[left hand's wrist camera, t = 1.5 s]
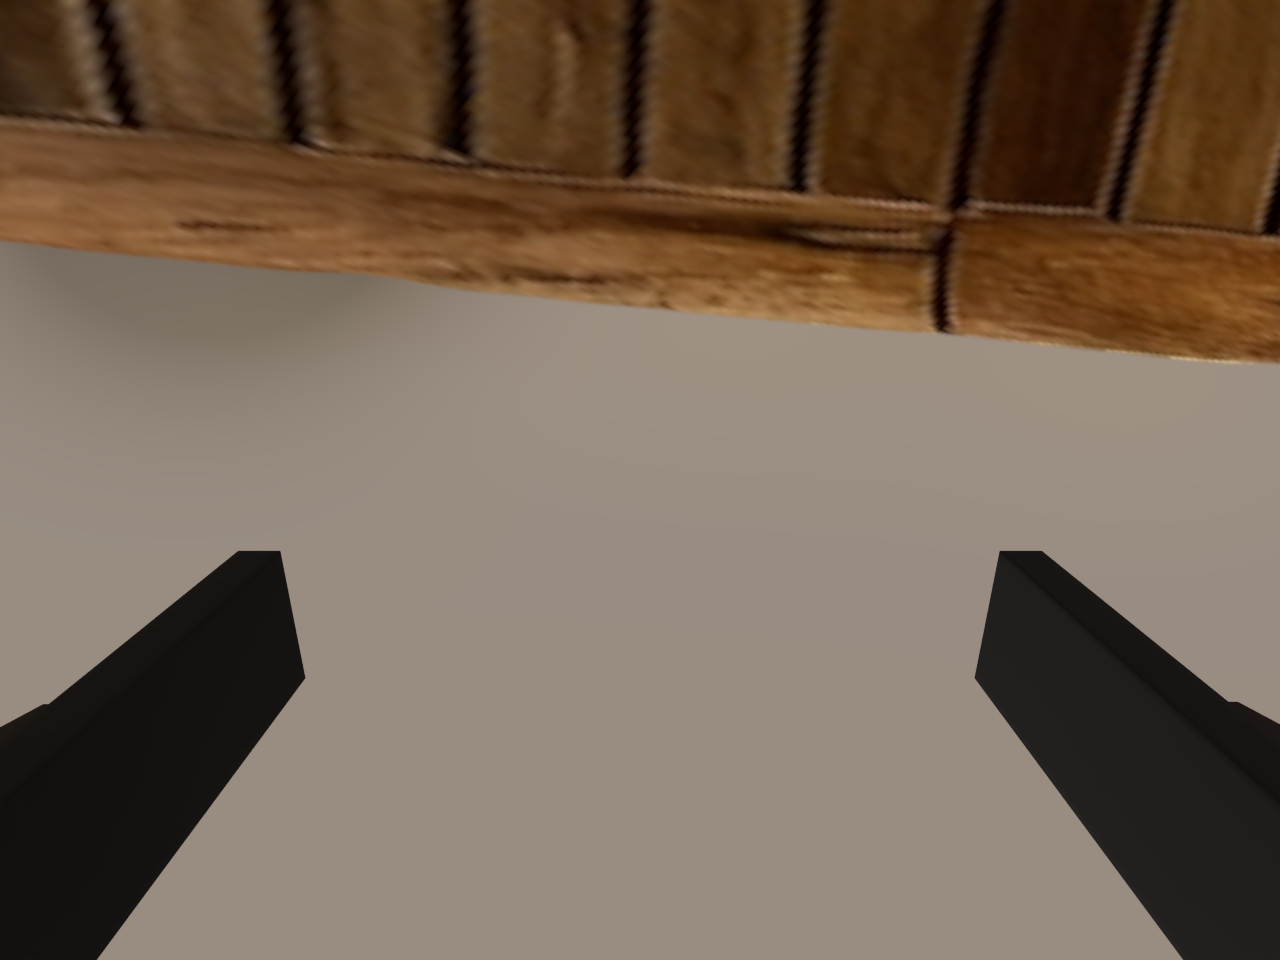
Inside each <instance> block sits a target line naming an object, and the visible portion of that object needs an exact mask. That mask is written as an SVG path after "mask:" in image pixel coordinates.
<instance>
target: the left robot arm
mask: <svg viewBox="0 0 1280 960" xmlns="http://www.w3.org/2000/svg"><path fill="white" fill-rule="evenodd" d="M304 679H305V674H304V669H303V664H302V659H301V654H300V649H299V644H298V638H297V634H296V628H295V623H294V618H293V613H292V608H291V603H290V598H289V593H288V588H287V583H286V578H285V573H284V567H283V562H282V557H281V552H280V551H238V552H236V553H235V554H234V555H233V556H231V557H230V558H229V559H228V560H227V561H225V562H224V563H223V564H222V565H220V566H219V567H218V568H217V569H215V570H214V571H213V572H212V573H210V574H209V575H208V576H207V577H205V578H204V579H203V580H202V581H201V582H199V583H198V584H197V585H196V586H194V587H193V588H192V589H191V590H189V591H188V592H187V593H186V594H185V595H183V596H182V597H181V598H179V599H178V600H177V601H176V602H175V603H173V604H172V605H171V606H170V607H168V608H167V609H166V610H165V611H163V612H162V613H161V614H160V615H158V616H157V617H156V618H155V619H154V620H152V621H151V622H150V623H149V624H147V625H146V626H145V627H144V628H142V629H141V630H140V631H139V632H137V633H136V634H135V635H134V636H132V637H131V638H130V639H129V640H128V641H126V642H125V643H124V644H123V645H121V646H120V647H119V648H118V649H116V650H115V651H114V652H113V653H111V654H110V655H109V656H108V657H107V658H105V659H104V660H103V661H102V662H100V663H99V664H98V665H97V666H95V667H94V668H93V669H92V670H90V671H89V672H88V673H87V674H86V675H84V676H83V677H82V678H81V679H79V680H78V681H77V682H76V683H74V684H73V685H72V686H71V687H69V688H68V689H67V690H66V691H65V692H63V693H62V694H61V695H60V696H58V697H57V698H56V699H55V700H53V701H52V702H51V703H50V704H43V705H41V706H39V707H37V708H35V709H34V710H32V711H30V712H28V713H26V714H24V715H22V716H20V717H19V718H17V719H15V720H13V721H11V722H9V723H7V724H6V725H4V726H2V727H0V960H97V959H98V957H99V956H100V955H101V953H102V952H103V951H104V949H105V948H106V947H107V945H108V944H109V942H110V941H111V940H112V938H113V937H114V936H115V934H116V933H117V932H118V930H119V929H120V928H121V926H122V925H123V924H124V922H125V921H126V920H127V918H128V917H129V915H130V914H131V913H132V911H133V910H134V909H135V907H136V906H137V905H138V903H139V902H140V901H141V899H142V898H143V897H144V895H145V894H146V893H147V891H148V890H149V888H150V887H151V886H152V884H153V883H154V882H155V880H156V879H157V878H158V876H159V875H160V874H161V872H162V871H163V870H164V868H165V867H166V866H167V864H168V863H169V861H170V860H171V859H172V857H173V856H174V855H175V853H176V852H177V851H178V849H179V848H180V847H181V845H182V844H183V843H184V841H185V840H186V839H187V837H188V836H189V834H190V833H191V832H192V830H193V829H194V828H195V826H196V825H197V824H198V822H199V821H200V820H201V818H202V817H203V815H204V814H205V813H206V812H207V810H208V809H209V807H210V806H211V805H212V803H213V802H214V801H215V799H216V798H217V797H218V795H219V794H220V793H221V791H222V790H223V789H224V787H225V786H226V784H227V783H228V782H229V780H230V779H231V778H232V776H233V775H234V774H235V772H236V771H237V770H238V768H239V767H240V766H241V764H242V763H243V762H244V760H245V759H246V757H247V756H248V755H249V753H250V752H251V751H252V749H253V748H254V747H255V745H256V744H257V743H258V741H259V740H260V739H261V737H262V736H263V735H264V733H265V732H266V730H267V729H268V728H269V726H270V725H271V724H272V722H273V721H274V720H275V718H276V717H277V716H278V714H279V713H280V712H281V710H282V709H283V708H284V706H285V705H286V703H287V702H288V701H289V699H290V698H291V697H292V695H293V694H294V693H295V691H296V690H297V689H298V687H299V686H300V685H301V683H302V682H303V680H304ZM975 679H976V680H977V682H978V683H979V684H980V686H981V687H982V689H983V690H984V691H985V693H986V694H987V695H988V697H989V698H990V699H991V701H992V702H993V703H994V705H995V706H996V707H997V709H998V710H999V712H1000V713H1001V714H1002V716H1003V717H1004V718H1005V720H1006V721H1007V722H1008V724H1009V725H1010V726H1011V728H1012V729H1013V730H1014V732H1015V733H1016V735H1017V736H1018V737H1019V739H1020V740H1021V741H1022V743H1023V744H1024V745H1025V747H1026V748H1027V749H1028V751H1029V752H1030V753H1031V755H1032V756H1033V757H1034V759H1035V760H1036V762H1037V763H1038V764H1039V766H1040V767H1041V768H1042V770H1043V771H1044V772H1045V774H1046V775H1047V776H1048V778H1049V779H1050V780H1051V782H1052V783H1053V784H1054V786H1055V787H1056V789H1057V790H1058V791H1059V793H1060V794H1061V795H1062V797H1063V798H1064V799H1065V801H1066V802H1067V803H1068V805H1069V806H1070V807H1071V809H1072V810H1073V812H1074V813H1075V814H1076V816H1077V817H1078V818H1079V820H1080V821H1081V822H1082V824H1083V825H1084V826H1085V828H1086V829H1087V830H1088V832H1089V833H1090V834H1091V836H1092V837H1093V839H1094V840H1095V841H1096V843H1097V844H1098V845H1099V847H1100V848H1101V849H1102V851H1103V852H1104V853H1105V855H1106V856H1107V857H1108V859H1109V860H1110V861H1111V863H1112V864H1113V865H1114V867H1115V868H1116V870H1117V871H1118V872H1119V874H1120V875H1121V876H1122V878H1123V879H1124V880H1125V882H1126V883H1127V884H1128V886H1129V887H1130V888H1131V890H1132V891H1133V893H1134V894H1135V895H1136V897H1137V898H1138V899H1139V901H1140V902H1141V903H1142V905H1143V906H1144V907H1145V909H1146V910H1147V911H1148V913H1149V914H1150V916H1151V917H1152V918H1153V920H1154V921H1155V922H1156V924H1157V925H1158V926H1159V928H1160V929H1161V930H1162V932H1163V933H1164V934H1165V936H1166V937H1167V938H1168V940H1169V941H1170V942H1171V944H1172V945H1173V946H1174V948H1175V949H1176V951H1177V952H1178V953H1179V955H1180V956H1181V957H1182V959H1183V960H1280V724H1278V723H1276V722H1274V721H1273V720H1271V719H1269V718H1267V717H1265V716H1263V715H1261V714H1259V713H1258V712H1256V711H1254V710H1252V709H1250V708H1248V707H1246V706H1244V705H1243V704H1241V703H1239V702H1228V701H1227V700H1225V699H1224V698H1223V697H1222V696H1220V695H1219V694H1218V693H1217V692H1216V691H1214V690H1213V689H1212V688H1210V687H1209V686H1208V685H1207V684H1206V683H1204V682H1203V681H1202V680H1201V679H1199V678H1198V677H1197V676H1196V675H1194V674H1193V673H1192V672H1191V671H1190V670H1188V669H1187V668H1186V667H1185V666H1183V665H1182V664H1181V663H1180V662H1178V661H1177V660H1176V659H1175V658H1173V657H1172V656H1171V655H1170V654H1169V653H1167V652H1166V651H1165V650H1164V649H1162V648H1161V647H1160V646H1159V645H1157V644H1156V643H1155V642H1154V641H1152V640H1151V639H1150V638H1149V637H1148V636H1146V635H1145V634H1144V633H1143V632H1141V631H1140V630H1139V629H1138V628H1136V627H1135V626H1134V625H1133V624H1131V623H1130V622H1129V621H1128V620H1126V619H1125V618H1124V617H1123V616H1122V615H1120V614H1119V613H1118V612H1117V611H1115V610H1114V609H1113V608H1112V607H1110V606H1109V605H1108V604H1107V603H1105V602H1104V601H1103V600H1102V599H1101V598H1099V597H1098V596H1097V595H1096V594H1094V593H1093V592H1092V591H1091V590H1089V589H1088V588H1087V587H1086V586H1084V585H1083V584H1082V583H1081V582H1079V581H1078V580H1077V579H1076V578H1075V577H1073V576H1072V575H1071V574H1070V573H1068V572H1067V571H1066V570H1065V569H1063V568H1062V567H1061V566H1060V565H1058V564H1057V563H1056V562H1055V561H1054V560H1052V559H1051V558H1050V557H1049V556H1047V555H1046V554H1045V553H1044V552H1042V551H1000V552H999V557H998V562H997V567H996V573H995V578H994V583H993V588H992V593H991V598H990V603H989V608H988V613H987V618H986V623H985V628H984V634H983V638H982V643H981V649H980V654H979V659H978V664H977V669H976V674H975Z"/></svg>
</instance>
